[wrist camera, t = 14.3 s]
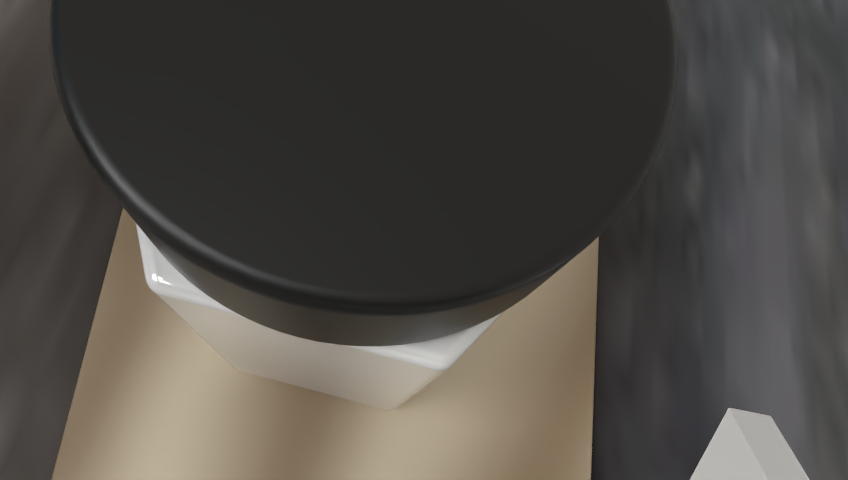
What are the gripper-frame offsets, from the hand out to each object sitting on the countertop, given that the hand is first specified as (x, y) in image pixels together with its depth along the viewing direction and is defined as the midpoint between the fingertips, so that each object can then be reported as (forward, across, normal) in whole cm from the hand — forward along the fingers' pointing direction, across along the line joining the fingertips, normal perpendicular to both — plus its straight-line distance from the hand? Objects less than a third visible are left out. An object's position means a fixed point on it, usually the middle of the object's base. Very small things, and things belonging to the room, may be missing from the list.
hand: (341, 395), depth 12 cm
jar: (+8, 0, -2) cm, 9 cm away
